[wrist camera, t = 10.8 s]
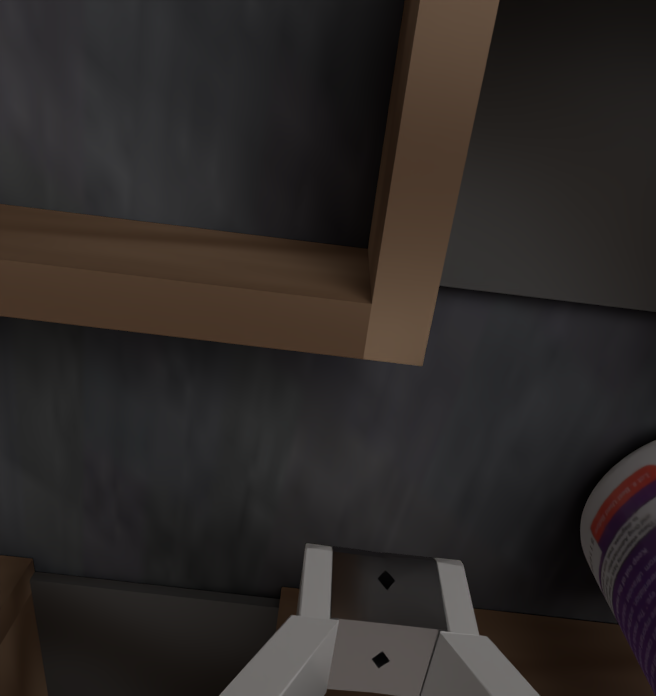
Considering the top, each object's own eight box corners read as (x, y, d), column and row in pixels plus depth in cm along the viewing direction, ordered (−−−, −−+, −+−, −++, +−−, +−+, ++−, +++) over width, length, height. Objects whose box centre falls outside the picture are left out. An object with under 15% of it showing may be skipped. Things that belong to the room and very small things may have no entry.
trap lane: (-467, -230, 9) (-807, -348, 6) (1386, 14, 10) (1784, -1, 7) (-126, 692, 19) (-202, 794, 17) (763, 788, 20) (827, 902, 17)
